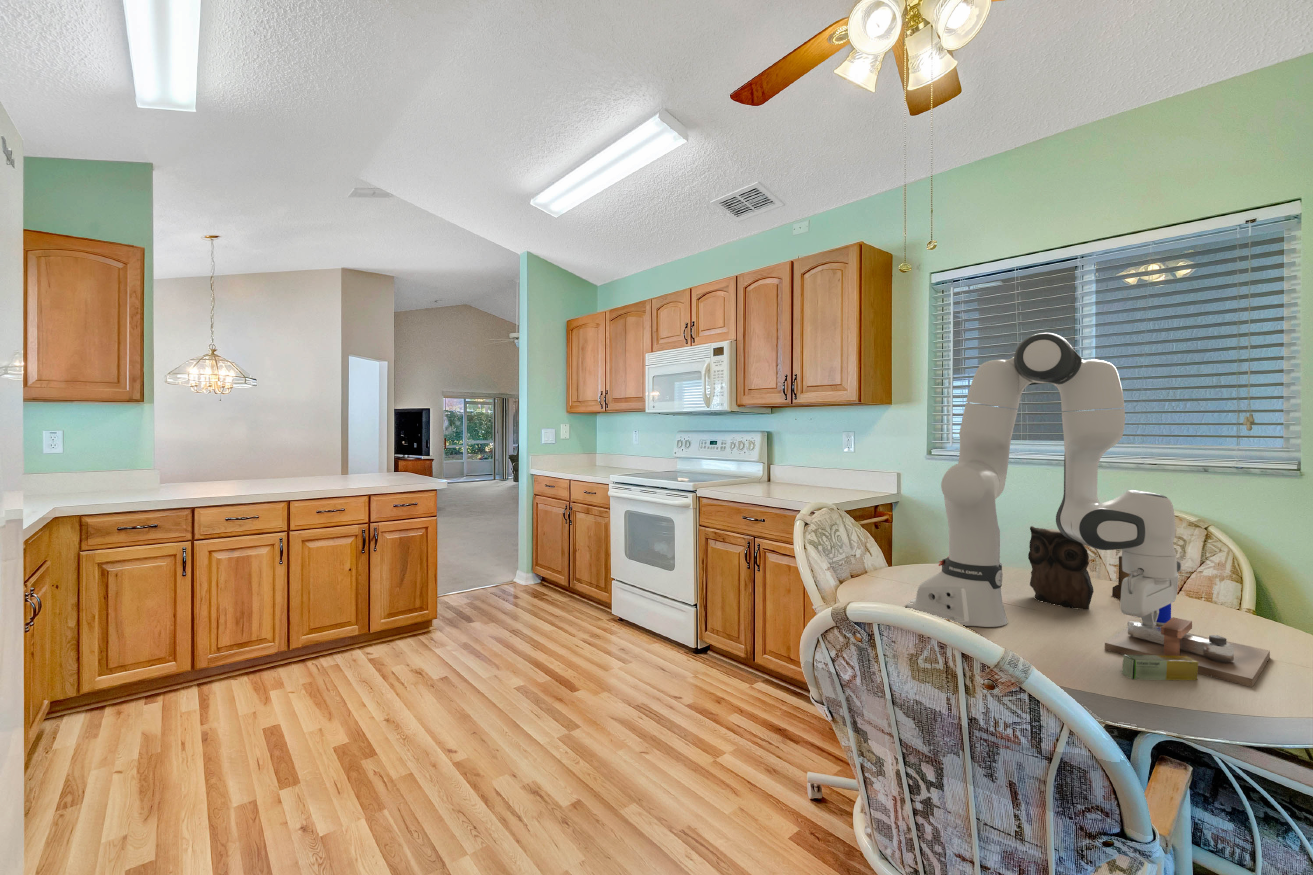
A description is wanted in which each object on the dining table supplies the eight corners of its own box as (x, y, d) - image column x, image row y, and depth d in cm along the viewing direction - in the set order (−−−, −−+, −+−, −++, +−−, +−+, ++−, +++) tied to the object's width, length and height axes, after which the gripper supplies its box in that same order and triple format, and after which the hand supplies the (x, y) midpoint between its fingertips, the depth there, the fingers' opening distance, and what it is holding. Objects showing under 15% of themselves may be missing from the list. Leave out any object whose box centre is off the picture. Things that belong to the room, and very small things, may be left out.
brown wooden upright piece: (1149, 601, 151) (1150, 535, 151) (1125, 601, 151) (1126, 535, 151) (1129, 594, 158) (1129, 530, 157) (1106, 594, 158) (1106, 530, 158)
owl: (1095, 611, 143) (1096, 533, 142) (1037, 606, 147) (1038, 530, 147) (1077, 597, 155) (1077, 525, 154) (1024, 593, 159) (1024, 523, 159)
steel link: (1237, 658, 109) (1237, 645, 108) (1228, 662, 107) (1228, 649, 106) (1133, 631, 123) (1133, 619, 123) (1123, 634, 121) (1123, 623, 121)
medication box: (1132, 680, 104) (1132, 659, 104) (1120, 674, 107) (1121, 653, 107) (1198, 681, 104) (1199, 660, 104) (1185, 675, 106) (1186, 654, 106)
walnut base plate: (1104, 649, 118) (1105, 617, 118) (1134, 627, 131) (1134, 599, 131) (1252, 687, 101) (1252, 649, 101) (1269, 657, 114) (1270, 624, 114)
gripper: (1148, 575, 113) (1149, 643, 113) (1184, 561, 124) (1185, 623, 124) (1110, 569, 118) (1111, 634, 118) (1148, 556, 129) (1148, 616, 129)
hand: (1149, 628), depth 121 cm, fingers closed
